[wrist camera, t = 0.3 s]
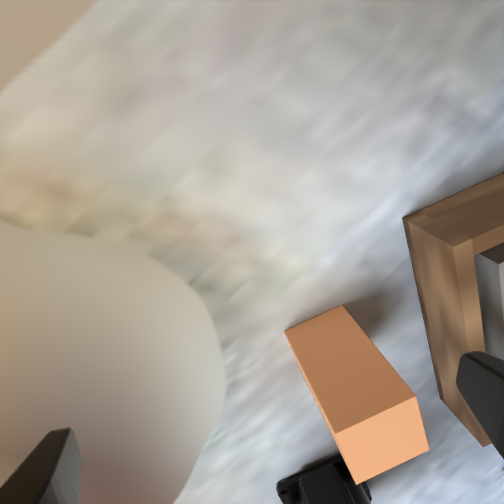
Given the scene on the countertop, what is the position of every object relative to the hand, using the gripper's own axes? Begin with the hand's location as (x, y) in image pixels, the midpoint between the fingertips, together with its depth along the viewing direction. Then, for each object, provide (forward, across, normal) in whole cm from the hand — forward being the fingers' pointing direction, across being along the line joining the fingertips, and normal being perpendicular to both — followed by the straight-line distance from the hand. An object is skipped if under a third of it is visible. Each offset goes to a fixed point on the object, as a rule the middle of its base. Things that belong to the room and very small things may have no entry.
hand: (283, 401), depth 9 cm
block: (+14, -6, +9) cm, 17 cm away
